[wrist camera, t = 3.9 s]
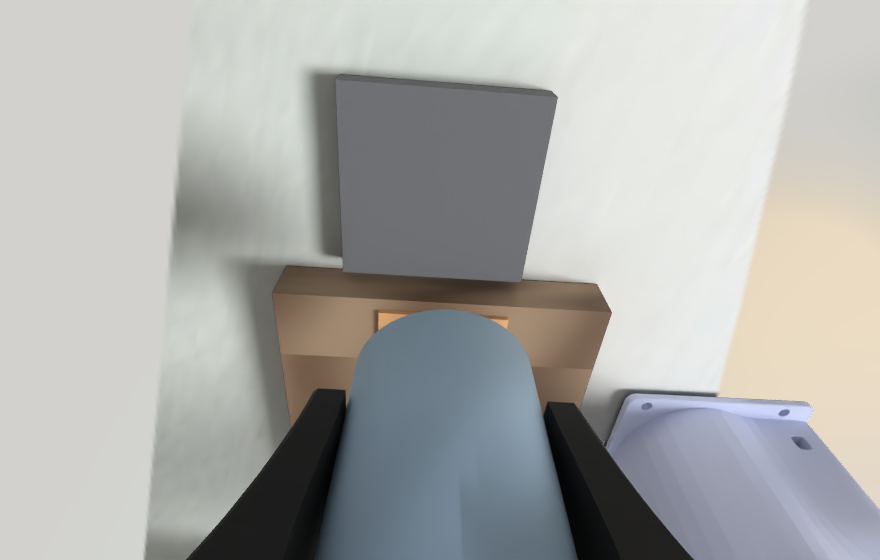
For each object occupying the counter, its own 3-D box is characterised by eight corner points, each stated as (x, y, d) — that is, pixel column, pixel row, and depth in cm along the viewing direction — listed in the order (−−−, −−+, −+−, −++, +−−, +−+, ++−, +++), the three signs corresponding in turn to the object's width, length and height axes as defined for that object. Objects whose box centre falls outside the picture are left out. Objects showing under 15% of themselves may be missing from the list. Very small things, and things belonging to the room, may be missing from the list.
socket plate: (596, 284, 20) (613, 315, 18) (542, 463, 26) (550, 500, 25) (286, 265, 19) (270, 296, 17) (308, 454, 26) (298, 490, 24)
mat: (551, 90, 16) (557, 97, 15) (517, 269, 20) (520, 282, 19) (340, 74, 15) (335, 79, 15) (347, 258, 19) (343, 271, 18)
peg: (547, 316, 11) (643, 603, 6) (514, 443, 13) (562, 726, 8) (353, 303, 11) (278, 590, 6) (355, 434, 13) (303, 720, 8)
